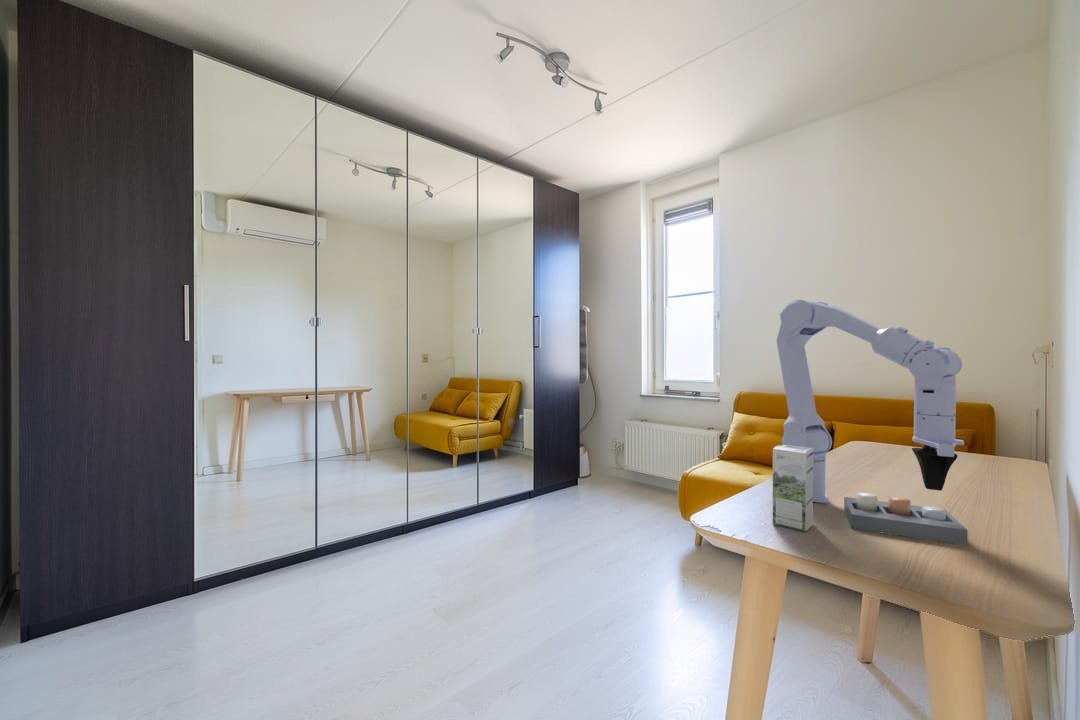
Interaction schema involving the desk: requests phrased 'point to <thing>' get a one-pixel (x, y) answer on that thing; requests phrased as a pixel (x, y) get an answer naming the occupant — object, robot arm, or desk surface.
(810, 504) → the syrup box
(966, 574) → the desk surface
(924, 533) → the grey compartment tray
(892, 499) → the terracotta key
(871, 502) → the ivory key
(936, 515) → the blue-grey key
